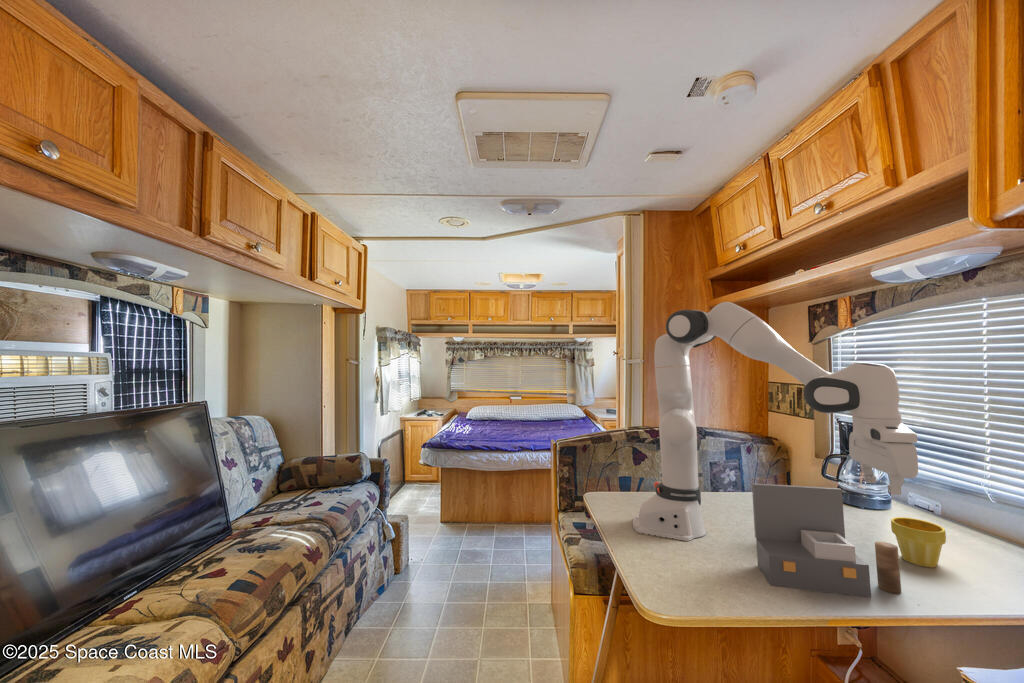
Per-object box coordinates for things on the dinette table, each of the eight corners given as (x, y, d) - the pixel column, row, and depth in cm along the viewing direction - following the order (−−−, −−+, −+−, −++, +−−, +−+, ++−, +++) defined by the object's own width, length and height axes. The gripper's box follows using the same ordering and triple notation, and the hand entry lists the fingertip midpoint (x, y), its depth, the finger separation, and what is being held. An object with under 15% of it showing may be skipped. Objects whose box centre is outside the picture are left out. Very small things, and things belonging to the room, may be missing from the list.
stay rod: (884, 592, 93) (881, 547, 93) (874, 583, 97) (871, 540, 97) (905, 595, 92) (902, 549, 92) (894, 585, 95) (891, 542, 96)
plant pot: (960, 573, 101) (956, 533, 101) (909, 568, 103) (906, 529, 104) (930, 555, 111) (926, 518, 111) (884, 551, 113) (881, 515, 114)
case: (771, 586, 96) (766, 496, 97) (756, 563, 107) (751, 483, 109) (872, 598, 90) (865, 503, 92) (845, 572, 102) (839, 488, 103)
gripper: (839, 423, 108) (843, 476, 107) (887, 435, 88) (892, 500, 87) (867, 423, 106) (872, 477, 105) (922, 436, 86) (929, 502, 85)
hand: (882, 488), depth 96 cm, fingers open, 8 cm apart
